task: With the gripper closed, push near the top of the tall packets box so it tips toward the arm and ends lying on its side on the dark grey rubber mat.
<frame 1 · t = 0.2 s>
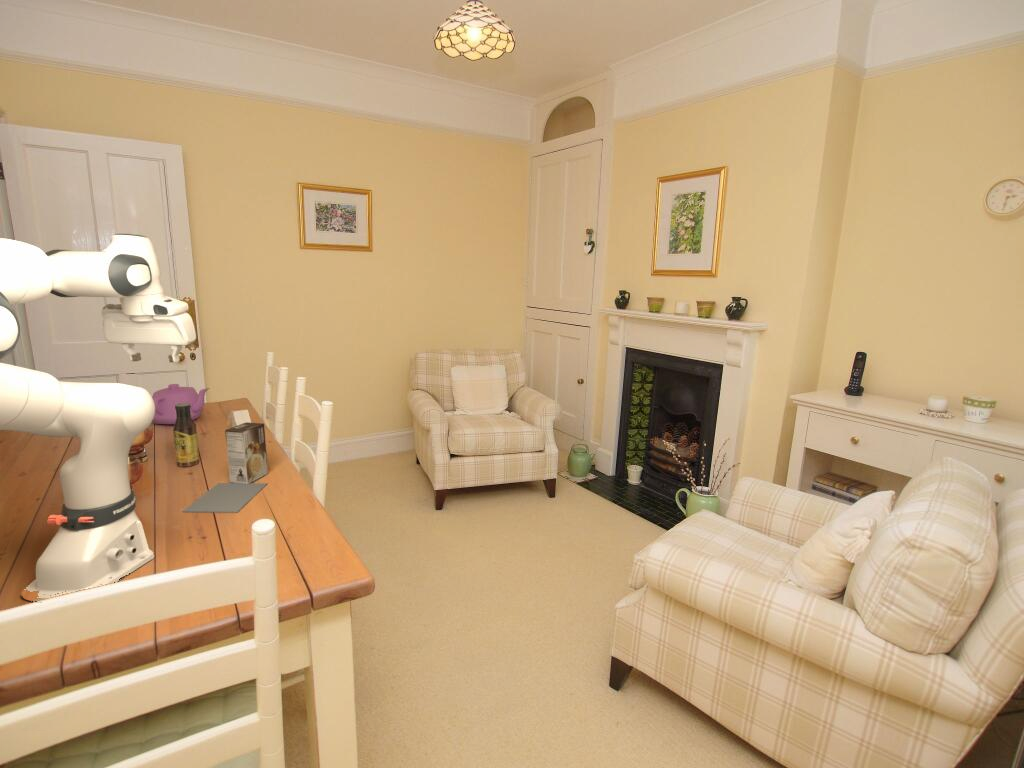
hand: (155, 361, 128), 39 cm above the table, tool pointing down, fingers open, 8 cm apart
teapot: (179, 421, 211), on the table
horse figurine: (244, 441, 190), on the table
mat: (227, 497, 144), on the table
coffee box: (249, 478, 156), on the table, touching mat
sauce bottle: (188, 464, 166), on the table
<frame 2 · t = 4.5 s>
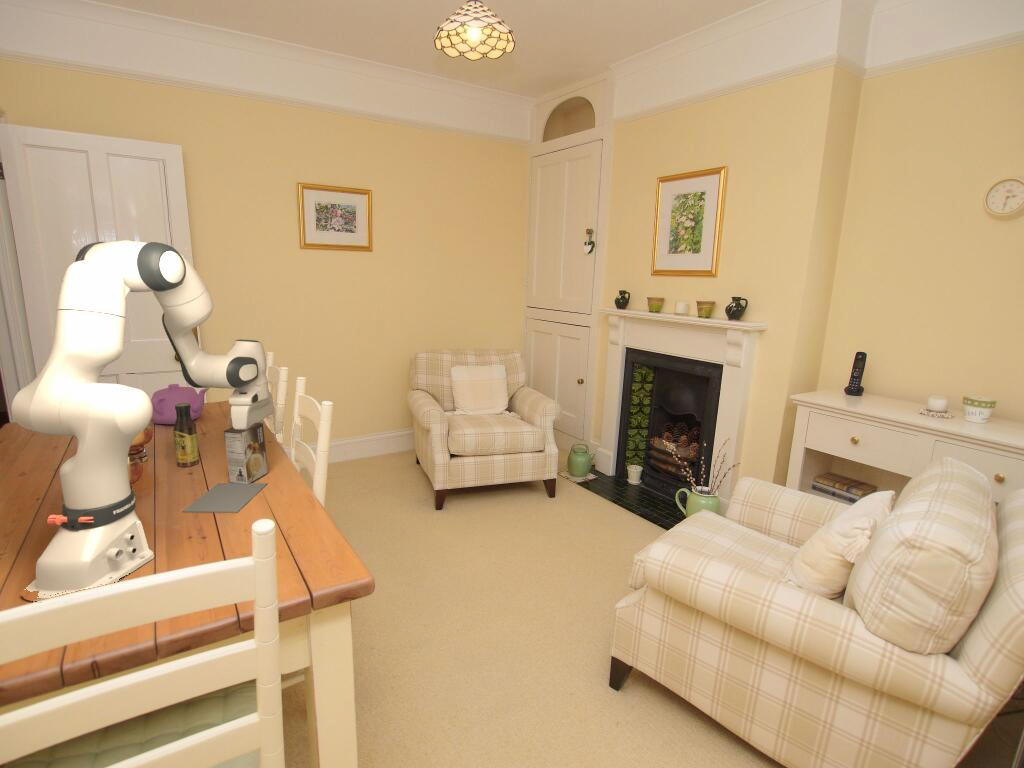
hand: (256, 436, 161), 11 cm above the table, tool pointing down, fingers closed
coffee box: (249, 478, 156), on the table, touching gripper, mat
everything else where it was.
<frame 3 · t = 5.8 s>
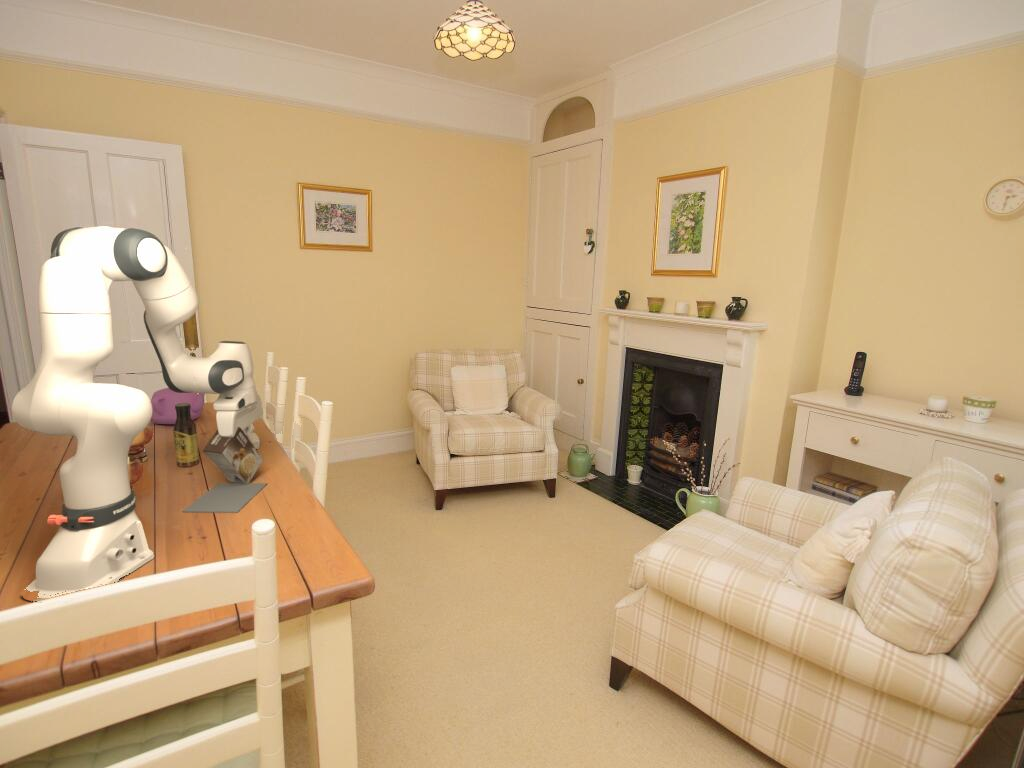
hand: (244, 441, 154), 12 cm above the table, tool pointing down, fingers closed
coffee box: (247, 471, 155), point 3 cm above the table, touching gripper, mat
everything else where it was.
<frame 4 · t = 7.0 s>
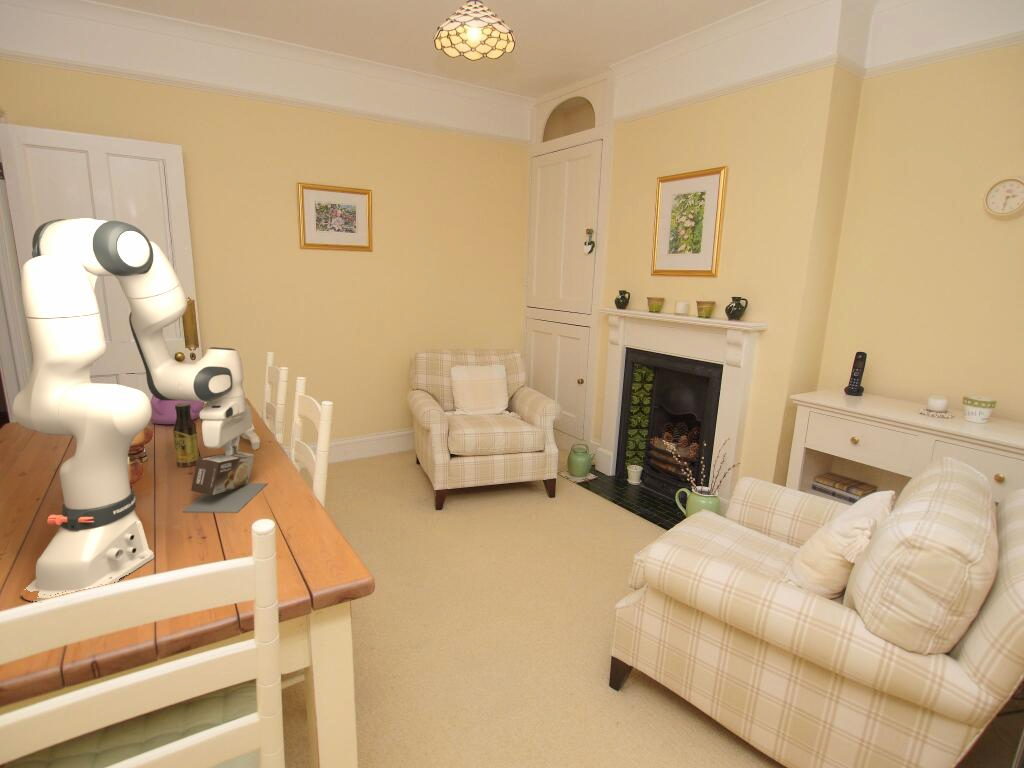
hand: (232, 453, 146), 11 cm above the table, tool pointing down, fingers closed
coffee box: (241, 467, 152), point 5 cm above the table, touching gripper, mat
everything else where it was.
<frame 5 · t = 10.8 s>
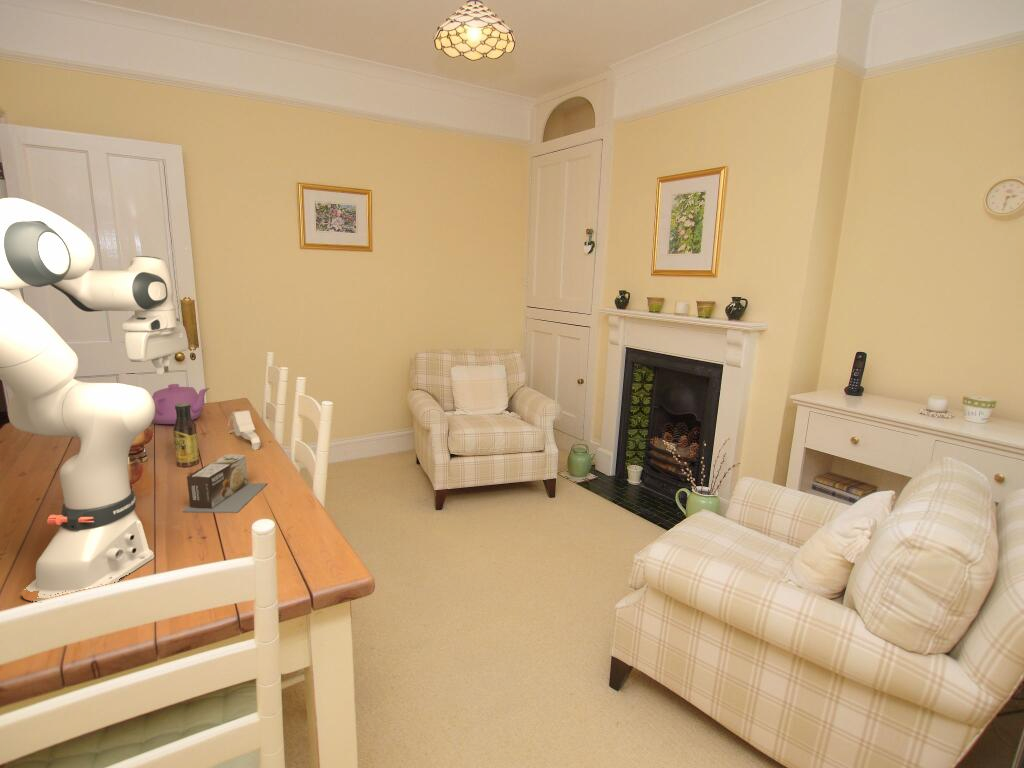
hand: (163, 372, 139), 34 cm above the table, tool pointing down, fingers closed
coffee box: (237, 469, 151), point 5 cm above the table, touching mat
at the end: coffee box tilted 89°; coffee box touching mat; coffee box inside the target area (1.3 cm from its centre), point 4.7 cm above the table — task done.
